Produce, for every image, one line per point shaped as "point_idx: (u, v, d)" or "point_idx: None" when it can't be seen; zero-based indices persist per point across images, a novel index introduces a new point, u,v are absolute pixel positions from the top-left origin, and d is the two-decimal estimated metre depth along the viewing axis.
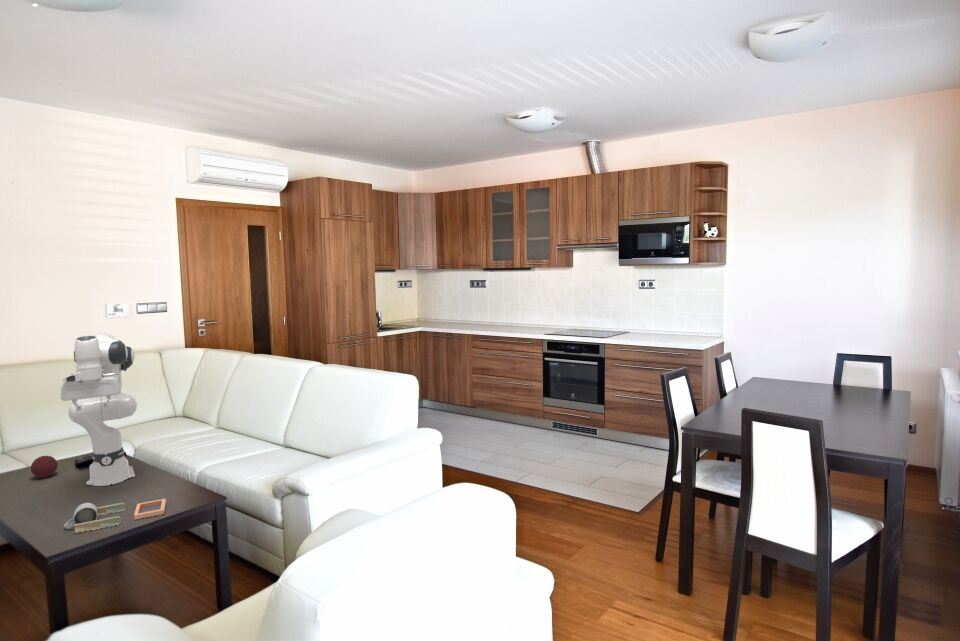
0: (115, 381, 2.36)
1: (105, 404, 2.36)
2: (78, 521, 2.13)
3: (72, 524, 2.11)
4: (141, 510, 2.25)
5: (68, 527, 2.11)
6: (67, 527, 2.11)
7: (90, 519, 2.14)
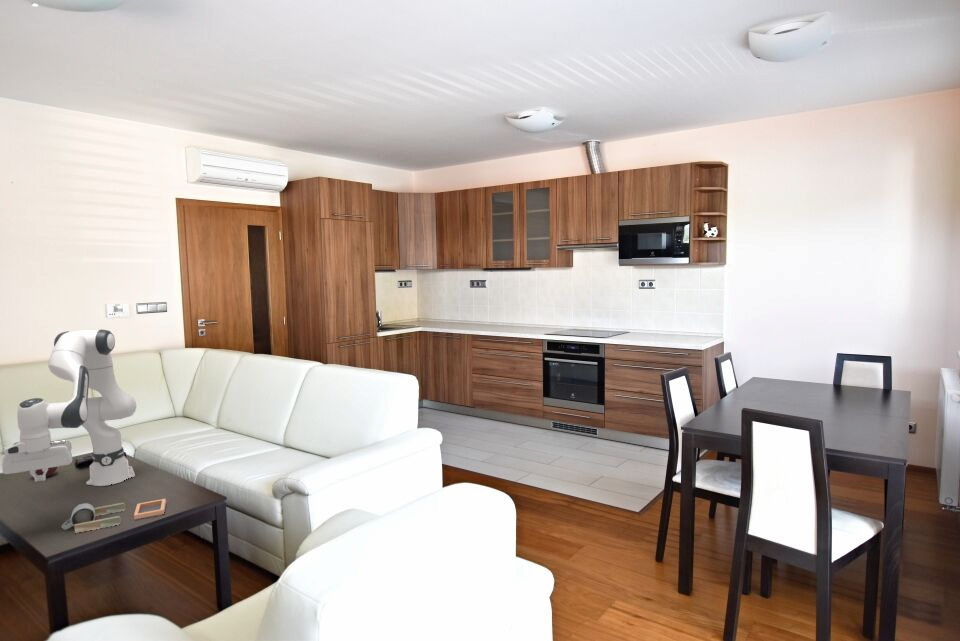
0: (66, 450, 2.09)
1: (41, 477, 2.07)
2: (76, 522, 2.13)
3: (70, 525, 2.11)
4: (141, 510, 2.25)
5: (65, 528, 2.10)
6: (64, 528, 2.11)
7: (88, 520, 2.14)
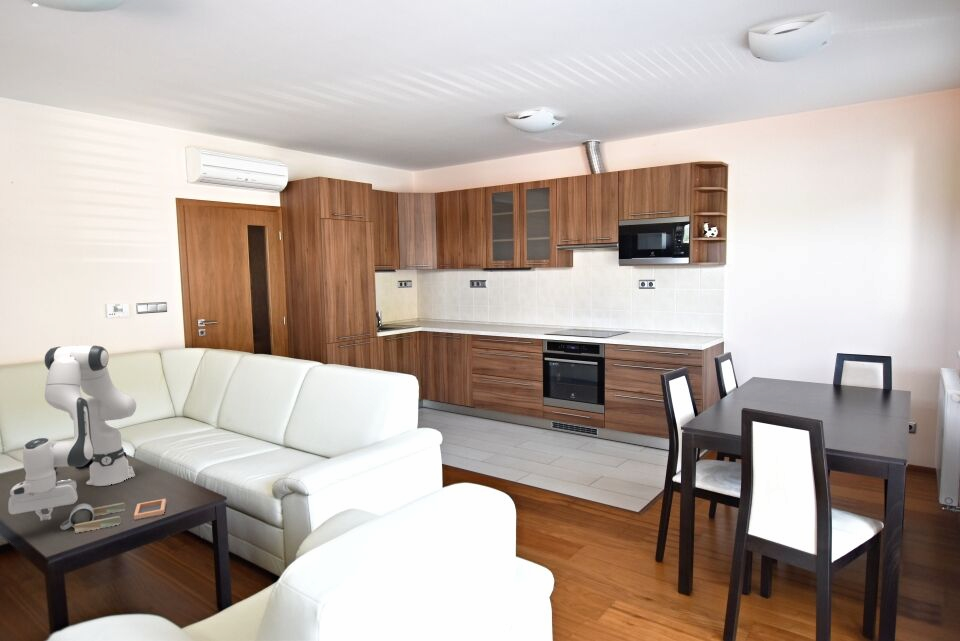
0: (71, 489, 2.11)
1: (47, 517, 2.09)
2: (75, 522, 2.13)
3: (68, 525, 2.10)
4: (141, 510, 2.25)
5: (64, 528, 2.10)
6: (63, 528, 2.10)
7: (86, 520, 2.14)
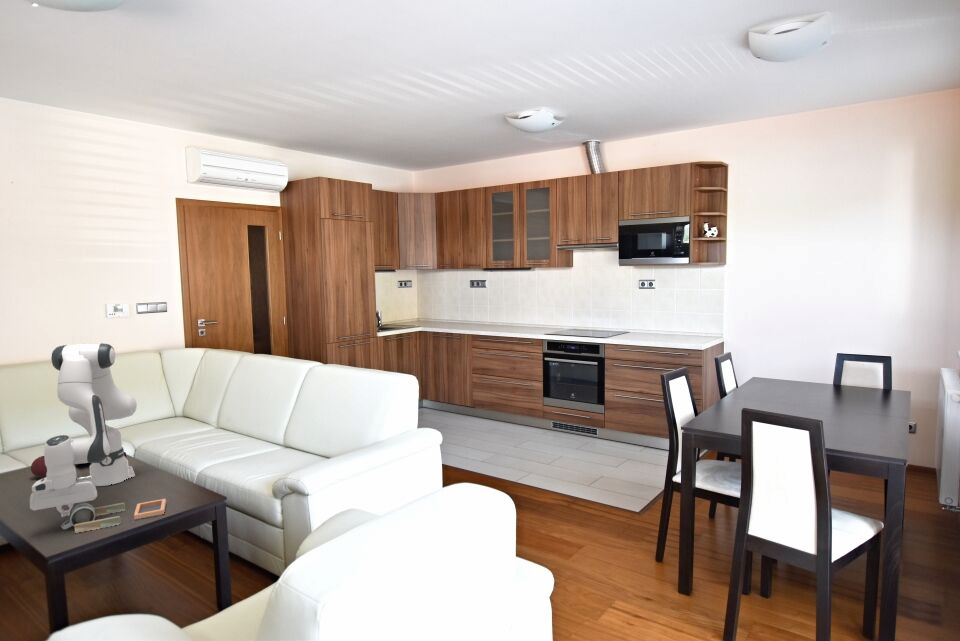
0: (91, 486, 2.14)
1: (67, 513, 2.12)
2: (76, 521, 2.13)
3: (69, 524, 2.10)
4: (141, 510, 2.25)
5: (65, 527, 2.10)
6: (64, 527, 2.10)
7: (87, 519, 2.14)
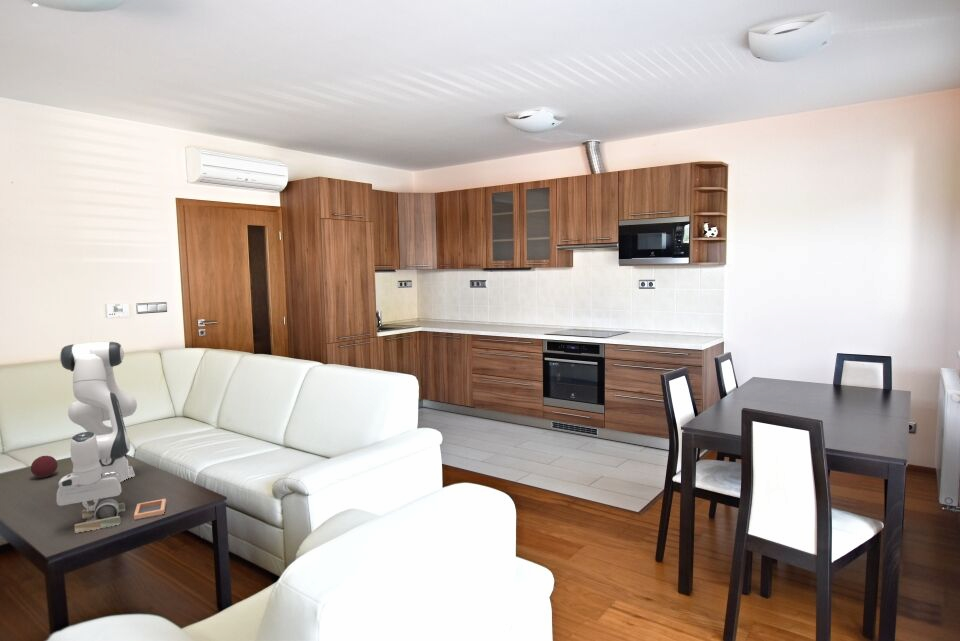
0: (115, 481, 2.17)
1: (92, 508, 2.15)
2: (100, 517, 2.16)
3: (93, 520, 2.14)
4: (141, 510, 2.25)
5: None
6: None
7: (111, 516, 2.17)
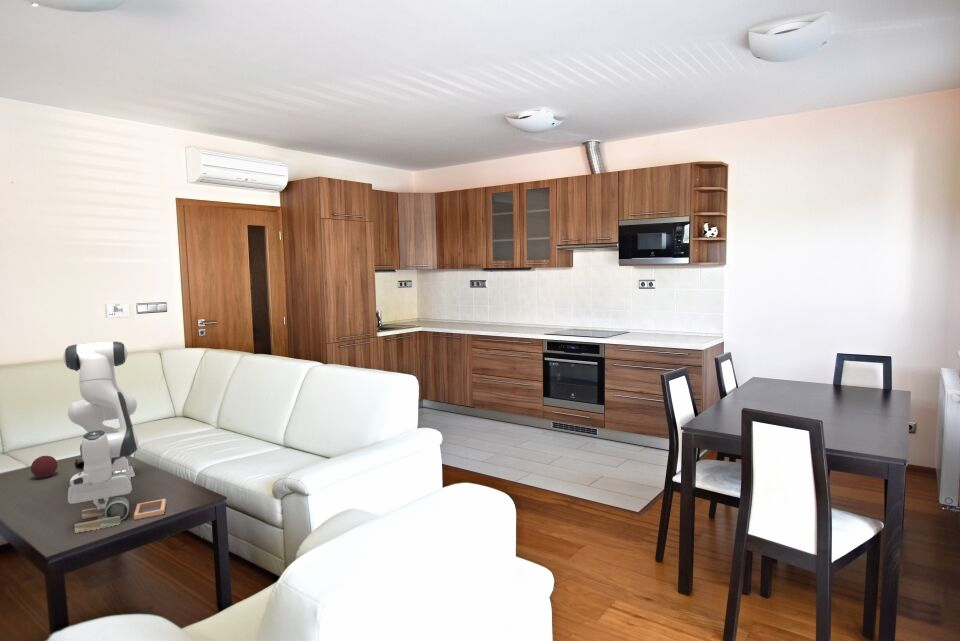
0: (126, 479, 2.18)
1: (103, 506, 2.17)
2: (110, 515, 2.17)
3: (104, 518, 2.15)
4: (141, 510, 2.25)
5: None
6: None
7: (121, 514, 2.18)
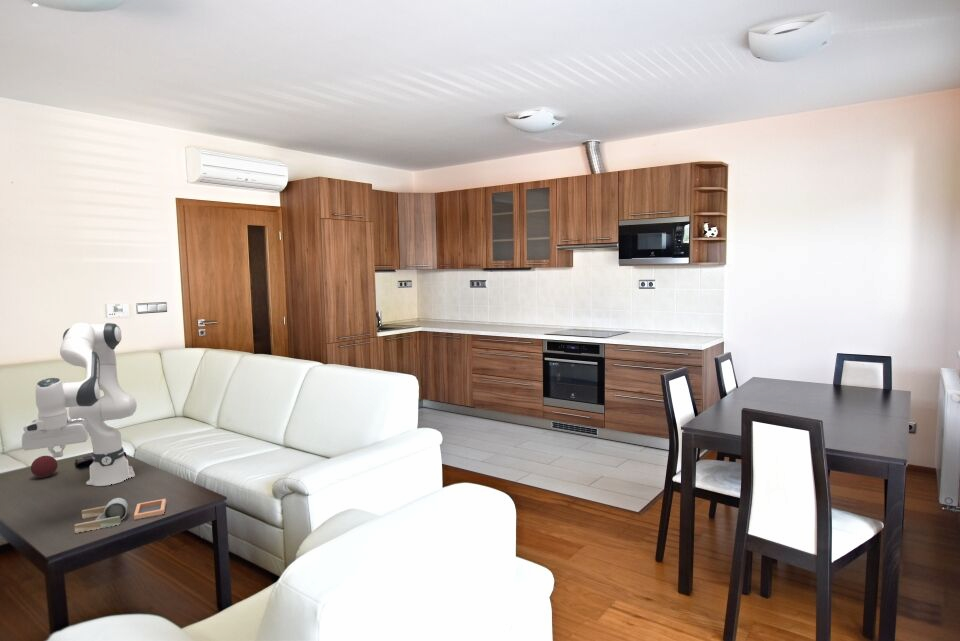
0: (82, 428, 2.17)
1: (59, 454, 2.16)
2: (109, 516, 2.17)
3: (102, 518, 2.15)
4: (141, 510, 2.25)
5: None
6: None
7: (120, 514, 2.18)
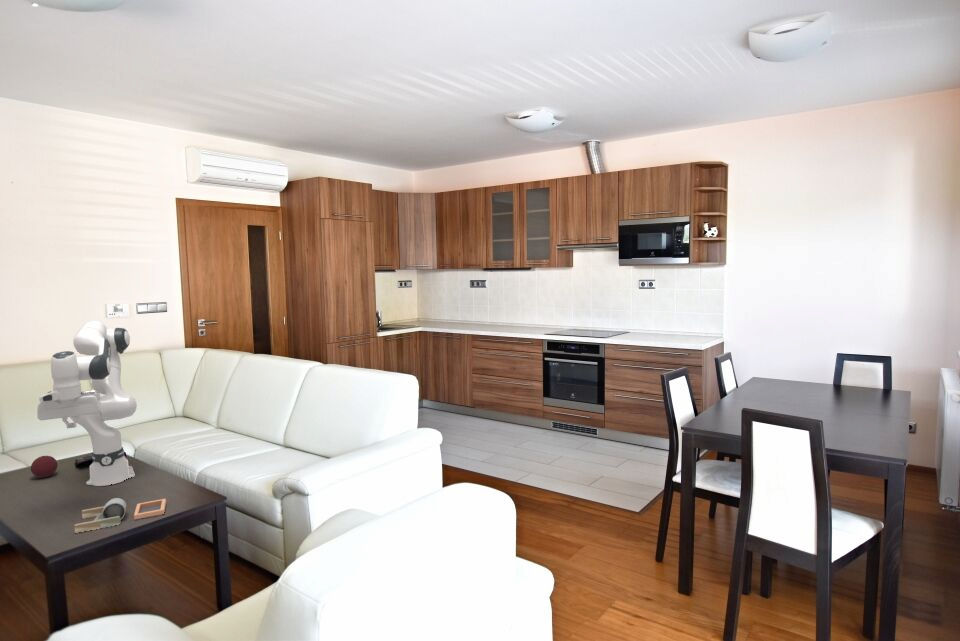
0: (95, 399, 2.26)
1: (73, 424, 2.24)
2: (107, 516, 2.17)
3: None
4: (141, 510, 2.25)
5: None
6: None
7: (118, 515, 2.18)
